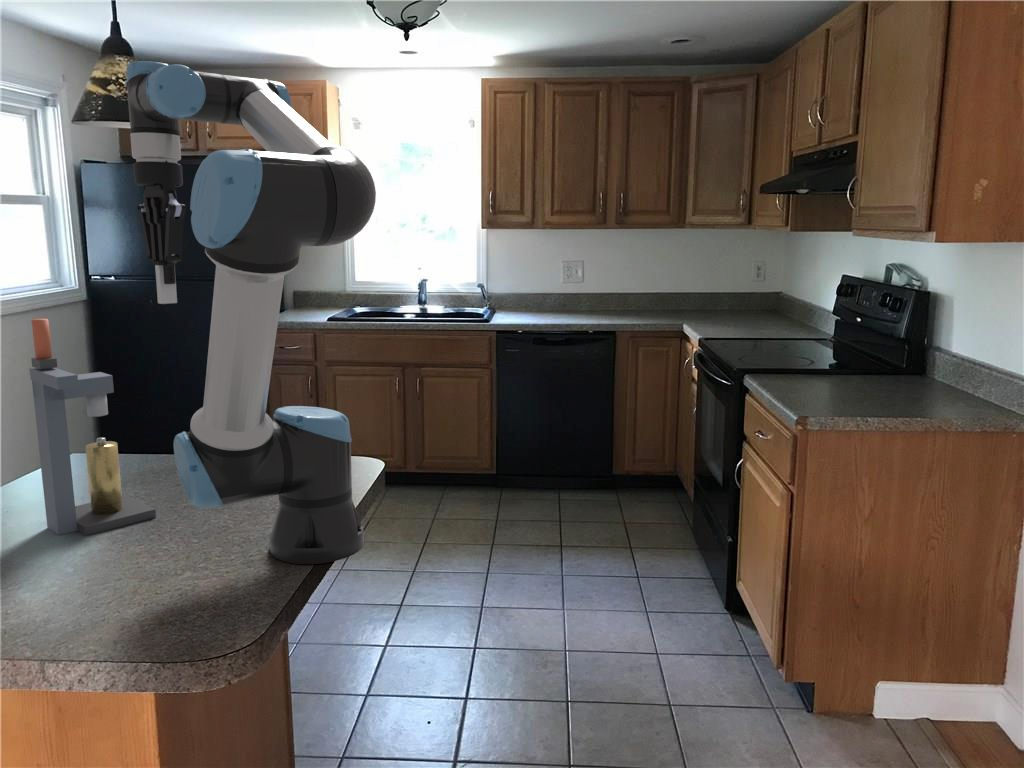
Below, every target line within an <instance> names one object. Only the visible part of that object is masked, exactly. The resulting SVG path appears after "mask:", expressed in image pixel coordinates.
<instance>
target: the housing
mask: <svg viewBox="0 0 1024 768" xmlns="http://www.w3.org/2000/svg"><path fill="white" fill-rule="evenodd" d="M85 457H86V465H87V468H86V469H87V476H88V477H87V479H88V485H89V486H88V488H89V497H90V503H91V510H92V513H93V514H97V515H106V514H112V513H116V512H119V511H121V510H122V509H123V503H122V495H123V493H122V492H123V491H122V483H121V473H120V472H121V470H120V461H119V460H120V458H119V447H118V442H116V441H112V440H108V441H107V439H106V437H103V436H102V437H97V438H96V442H91V443H88V444H86V445H85Z"/></svg>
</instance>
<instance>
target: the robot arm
mask: <svg viewBox="0 0 1024 768" xmlns="http://www.w3.org/2000/svg"><path fill="white" fill-rule="evenodd" d="M125 71H126V81H125V87H126V90H127V91H126V92H127V102H128V114H129V125H130V134H129V135H130V147H131V149H130V150H131V158H133V159H135V160H136V162H134V163H133V164H132V167H133V168H132V169H133V180H134V181H133V183H134V184H135V185H136V186H139V187H141V186H143V198H142V199H143V203H142V204H137V205H136V210H137V213H138V216H139V218H140V224H141V229H142V235H143V236H142V237H143V241H144V245H145V252H146V256H147V260H148V261H152V264H153V265H155V266H154V269H155V270H154V271H155V281H156V283H155V284H156V293H157V294H156V295H157V296H156V297H157V304H160V305H161V304H162V305H166V304H167V305H168V304H177V303H178V297H177V296H178V295H177V294H178V293H177V282H176V281H177V280H176V279H177V278H176V265H177V264H178V263H179V262H182V258H183V243H184V242H183V241H184V239H183V238H184V222H185V221H184V219H185V214H186V211H187V206H186V204H183V203H179V201H178V195H177V192H176V188H180V187H183V185H184V178H183V165H181V164H180V163H178V162H179V161H181V160H182V151H181V149H182V147H183V145H182V143H181V138H180V135H181V134H180V121H190V122H202V123H214V124H223V125H224V124H226V125H232V126H233V125H236V126H242V127H243V129H245V130H246V131H247V132H248V133H249V134H250V136H252V138H254V139H255V140H256V142H257V143H258V144H260V146H261V147H262V148H263V149H264V150H265V151H262V150H261V151H260V150H253V149H252V148H243V149H241V148H240V149H218V150H215V151H213V152H210V153H209V154H208V155H207V156H206V158H204V159H203V160H202V161H201V163H200V165H199V167H198V169H197V170H196V173H195V175H194V178H193V183H192V186H191V187H192V188H191V194H190V195H191V196H190V205H189V207H190V208H189V209H190V211H191V216H190V223H191V229H192V232H193V234H194V237H195V239H196V241H197V242H198V243H199V244H200V245H202V246H203V247H204V254H206V257H208V259H209V260H210V261H211V262H212V263H213V264H215V272H214V283H213V284H214V285H213V294H212V295H213V296H212V306H211V316H210V317H211V318H210V328H209V338H208V339H209V340H208V348H207V349H208V352H207V359H206V360H207V363H206V372H205V373H206V374H205V383H204V384H205V385H204V395H203V405H202V407H200V408H199V409H198V410H196V411H195V412H194V413H193V415H192V417H191V419H190V424H189V431H182V432H179V433H177V434H176V435H175V436H174V439H173V454H174V461H175V464H176V470H177V474H178V477H179V479H180V483H181V485H182V488H183V491H184V494H185V495H186V497H187V500H188V501H189V502H190V504H192V506H194V507H195V508H197V509H201V510H202V509H203V510H204V509H212V508H223V507H225V506H229V505H230V506H231V505H234V504H239V503H243V502H248V501H252V500H258V499H263V498H268V497H272V496H277V495H278V507H277V510H276V513H275V516H274V520H273V524H272V529H271V532H270V535H269V552H270V554H271V556H272V557H274V558H275V559H277V560H279V561H281V562H282V561H283V562H284V563H288V564H296V565H319V564H320V565H321V564H326V563H327V564H328V563H333V562H337V561H340V560H344V559H346V558H349V557H352V556H353V555H355V554H357V553H358V552H360V550H362V549H363V547H364V545H365V534H364V533H365V532H364V527H363V525H362V523H361V519H360V516H359V514H358V512H357V509H356V506H355V503H354V501H353V487H352V486H353V484H352V483H353V481H352V480H353V479H352V445H351V443H352V441H353V440H352V435H351V430H350V429H351V427H350V421H349V419H348V417H347V416H346V415H345V414H344V413H342V412H340V411H337V410H334V409H329V408H326V407H325V408H324V407H320V406H319V407H318V406H307V405H306V406H303V405H297V406H296V405H291V406H290V405H289V406H282V407H278V408H277V409H275V411H274V414H273V419H272V418H271V417H270V415H269V414H268V413H267V412H266V411H267V404H268V396H269V389H270V382H271V375H272V367H273V361H274V354H275V348H276V339H277V332H278V325H279V317H280V310H281V303H282V301H281V300H282V296H283V295H282V294H283V289H284V282H285V281H284V280H285V276H286V275H288V274H289V273H291V272H292V271H294V270H295V269H296V268H297V267H298V266H299V260H300V254H301V249H302V248H303V247H329V246H334V245H338V244H342V243H345V242H346V241H348V240H350V239H352V238H353V237H355V236H356V235H358V234H359V233H360V232H361V231H362V230H363V229H364V228H365V226H366V225H367V224H368V223H369V221H370V219H371V217H372V216H373V213H374V209H375V205H376V198H377V195H376V194H377V190H376V186H375V181H374V179H373V176H372V173H371V172H370V170H369V168H368V167H367V166H366V165H365V163H364V162H362V160H361V159H360V158H359V157H358V156H357V155H356V154H354V153H353V152H352V151H351V150H349V149H348V148H346V147H344V146H340V145H333V143H331V142H330V141H329V140H328V139H327V138H326V137H324V135H322V134H321V133H320V132H319V131H318V130H317V129H316V128H314V126H312V124H310V123H309V122H308V121H307V120H305V119H304V118H303V117H302V116H301V115H300V114H299V113H298V112H297V111H295V110H294V109H293V108H292V100H291V95H290V94H289V91H288V88H287V86H286V85H285V84H283V83H281V82H280V81H274V80H270V79H267V78H256V77H254V78H253V77H246V76H238V75H237V76H236V75H228V74H219V73H212V72H205V71H197V70H193V69H192V68H190V67H188V66H186V65H183V64H177V63H174V64H168V63H164V62H158V61H150V60H148V61H147V60H139V61H132V62H129V63H128V64H127V66H126V70H125Z"/></svg>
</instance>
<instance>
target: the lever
mask: <svg viewBox="0 0 1024 768" xmlns="http://www.w3.org/2000/svg"><path fill="white" fill-rule="evenodd" d="M31 327H32V329H31V330H32V338H33V348H34V357H31V359H30V360H31V368H34V367H35V368H38V369H48V368H58V359H57V357H53V354H52V343H51V341H52V340H51V332H50V323H49V318H34V319H33V318H32V319H31Z"/></svg>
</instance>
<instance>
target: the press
mask: <svg viewBox="0 0 1024 768" xmlns="http://www.w3.org/2000/svg"><path fill="white" fill-rule="evenodd" d="M28 369H29V375H30V376H29V377H30V381H31V386H32V393H33V403H34V411H35V423H36V424H35V425H36V432H37V433H36V434H37V441H38V442H37V443H38V451H39V460H40V468H41V469H40V470H41V480H42V489H43V499H44V507H45V516H46V519H45V520H46V526H47V527H46V528H47V529H48V530H49V531H51V532H53V533H55V534H56V535H57V536H62V535H65V534H68V533H73V532H77V531H78V532H79V533H81V534H82V535H84V536H89V535H93V534H96V533H101V532H105V531H108V530H109V531H110V530H112V529H116V528H120V527H124V526H128V525H132V524H135V523H138V522H139V523H140V522H143V521H148V520H150V519H155V518H157V514H156V509H155V508H153V507H152V506H150V505H148V504H146V503H144V502H142V501H140V500H138V499H136V498H134V497H133V496H130V495H128V494H122V503H123V509H122V510H121V511H119V512H116V513H112V514H106V515H97V514H93V513H92V510H91V502H88V503H83V504H80V505H79V504H78V505H76V501H75V494H74V493H75V492H74V482H73V474H72V473H73V472H72V462H71V454H70V452H71V451H70V443H69V442H70V441H69V433H68V432H69V431H68V420H67V413H66V401H65V400H70V399H71V400H72V399H76V398H85V402H86V414H87V416H88V417H90V418H94V417H103V416H104V417H105V416H107V415H109V408H108V397H107V396H108V395H107V394H113V393H115V390H114V378H113V375H112V374H108V373H105V372H102V371H97V372H96V371H95V372H89V373H79V374H76V373H73V372H69V371H66V370H63V369H60V368H58V367H56V368H48V369H38V368H35V367H29V368H28Z"/></svg>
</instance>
